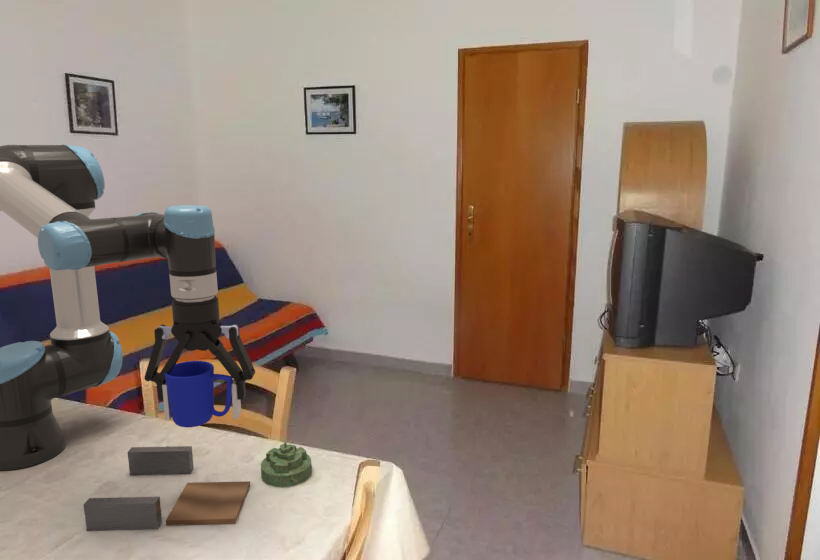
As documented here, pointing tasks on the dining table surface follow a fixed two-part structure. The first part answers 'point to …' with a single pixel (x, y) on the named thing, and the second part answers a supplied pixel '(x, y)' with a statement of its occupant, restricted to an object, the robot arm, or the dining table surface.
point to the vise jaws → (138, 509)
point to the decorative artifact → (286, 466)
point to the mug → (194, 393)
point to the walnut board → (209, 503)
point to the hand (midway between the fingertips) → (203, 416)
